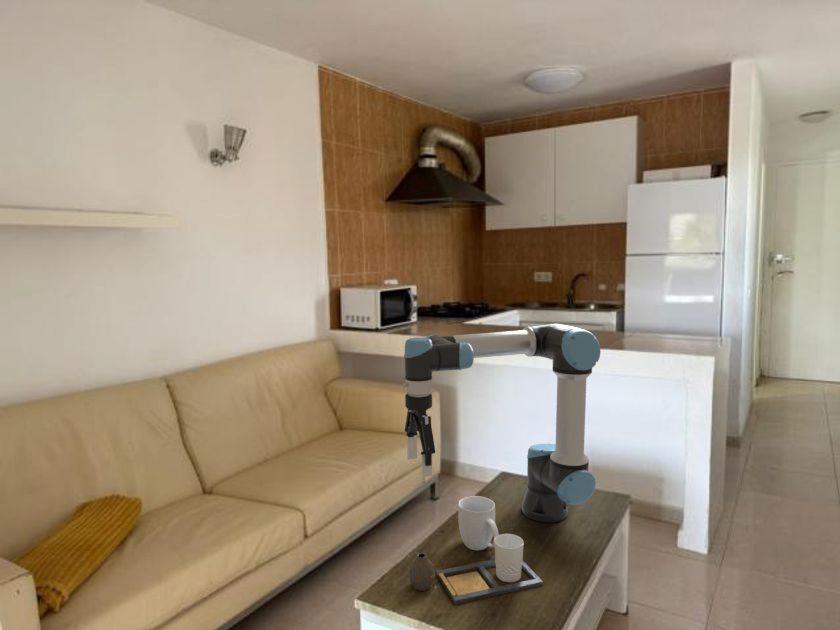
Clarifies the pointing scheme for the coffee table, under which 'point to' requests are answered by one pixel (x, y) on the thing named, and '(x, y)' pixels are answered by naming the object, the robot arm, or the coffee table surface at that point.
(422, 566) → the vase
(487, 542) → the mug
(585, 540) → the coffee table surface
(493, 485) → the coffee table surface
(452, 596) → the grey double frame
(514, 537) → the white cup
